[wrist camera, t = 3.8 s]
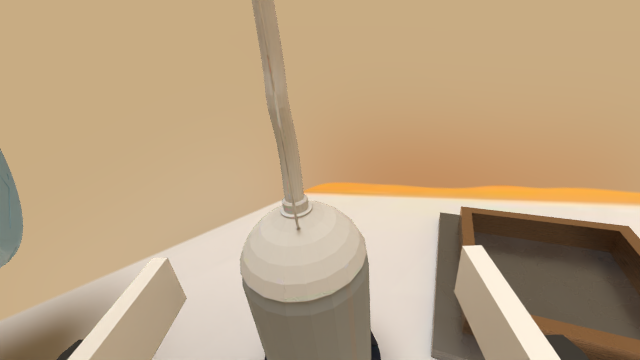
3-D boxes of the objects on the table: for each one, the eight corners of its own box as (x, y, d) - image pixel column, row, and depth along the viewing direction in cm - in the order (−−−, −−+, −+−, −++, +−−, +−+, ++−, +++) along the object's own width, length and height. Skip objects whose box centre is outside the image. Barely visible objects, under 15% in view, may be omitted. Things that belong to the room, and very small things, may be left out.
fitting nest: (431, 356, 20) (435, 326, 19) (439, 219, 35) (442, 195, 33) (822, 482, 13) (882, 452, 12) (630, 245, 28) (646, 217, 26)
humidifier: (364, 317, 24) (349, -42, 12) (400, 438, 17) (443, -162, 5) (271, 334, 23) (166, -24, 12) (266, 466, 16) (-17, -128, 5)
